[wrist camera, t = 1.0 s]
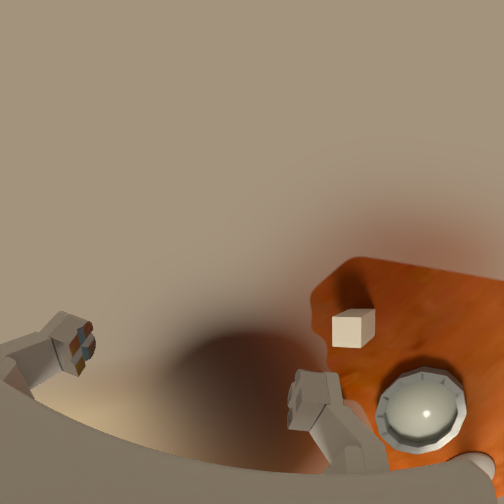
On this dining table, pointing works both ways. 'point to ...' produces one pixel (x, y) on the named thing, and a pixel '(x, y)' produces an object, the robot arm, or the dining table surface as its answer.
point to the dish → (421, 410)
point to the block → (353, 328)
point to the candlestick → (480, 462)
